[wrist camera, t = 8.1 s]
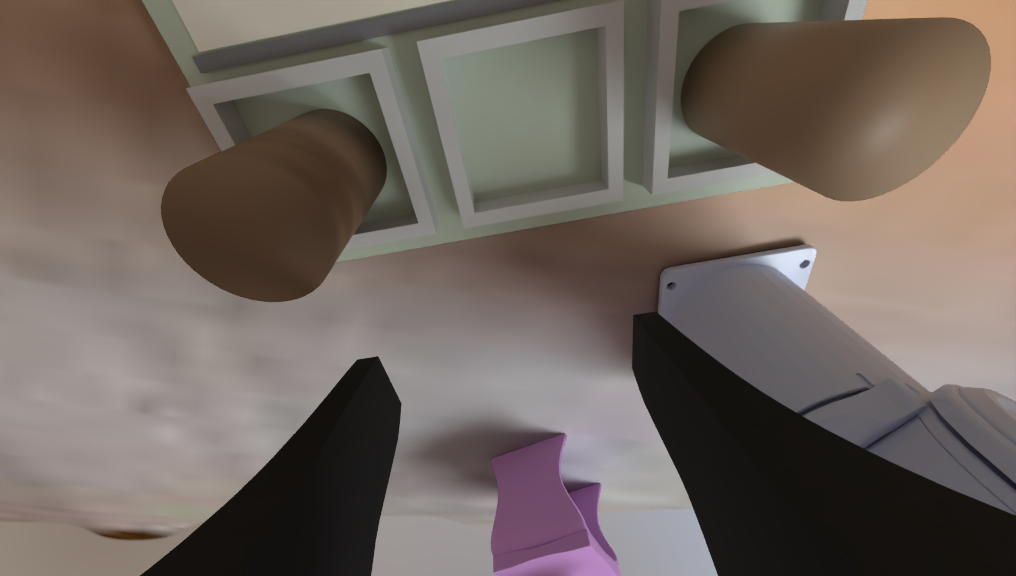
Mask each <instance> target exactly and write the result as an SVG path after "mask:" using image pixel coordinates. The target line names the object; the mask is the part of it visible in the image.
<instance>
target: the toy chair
mask: <svg viewBox="0 0 1016 576" xmlns="http://www.w3.org/2000/svg"><path fill="white" fill-rule="evenodd" d="M566 438H567V436H566V434H565V433H564V434H561V435H558V436H555V437H552V438H549V439H547V440H544V441H541V442H538V443H535V444H532V445H529V446H526V447H524V448H521V449H518V450H515V451H512V452H509V453H506V454H504V455H501V456H498V457H495V458H492V459H491V460H490V461H491V464H492V467H493V469H494V472H495V475H496V480H497V485H498V504H497V510H496V516H495V521H494V526H493V531H492V537H491V550H492V554H493V556H494V557H493V565H494V566H493V568H494V573H495V574H496V575H498V576H621V574H620V570H619V567H618V560H617V558H616V555H615V553H614V552H613V550H612V548H611V547H610V546H609V544H608V543H607V541H606V540H605V538H604V536H603V534H602V532H601V529H600V526H599V522H598V504H599V497H600V492H601V486H602V485H601V484H600V483H598V484H595V485H592V486H588V487H585V488H582V489H579V490H576V491H573V492H569V493H567V491H566V489H565V487H564V485H563V482H562V478H561V475H560V462H561V455H562V451H563V447H564V444H565V441H566Z"/></svg>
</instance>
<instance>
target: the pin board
mask: <svg viewBox="0 0 1016 576" xmlns="http://www.w3.org/2000/svg"><path fill="white" fill-rule="evenodd" d="M142 2H143V3H144V5H145V7H146V9H147V10H148V12H149V14H150V16H151V17H152V19H153V21H154V23H155V25H156V26H157V28H158V30H159V32H160V33H161V35H162V37H163V39H164V40H165V42H166V44H167V46H168V48H169V49H170V51H171V53H172V55H173V56H174V58H175V60H176V62H177V63H178V65H179V67H180V69H181V71H182V72H183V74H184V76H185V78H186V79H187V81H188V83H189V85H190V86H191V87H189V88H185V89H186V90H187V92H188V94H189V96H190V97H191V99H192V101H193V103H194V104H195V106H196V108H197V110H198V111H199V113H200V115H201V117H202V118H203V120H204V122H205V123H206V125H207V127H208V129H209V130H210V132H211V134H212V136H213V137H214V139H215V141H216V143H217V144H218V146H219V148H220V150H221V151H224V150H226V149H228V148H230V147H232V146H234V145H237V144H239V143H241V142H243V141H245V140H248V139H250V138H252V137H254V136H256V135H258V134H261V133H263V132H265V131H267V130H269V129H272V128H274V127H276V126H278V125H280V124H283V123H285V122H287V121H289V120H291V119H293V118H296V117H298V116H300V115H302V114H304V113H307V112H309V111H313V110H318V109H331V110H337V111H340V112H343V113H346V114H348V115H350V116H352V117H354V118H356V119H357V120H359V121H360V122H362V123H363V124H364V125H365V126H366V127H367V128H368V129H369V130H370V131H371V132H372V133H373V134H374V136H375V137H376V138H377V140H378V141H379V143H380V145H381V147H382V149H383V152H384V155H385V158H386V163H387V176H386V181H385V184H384V187H383V189H382V190H381V192H380V194H379V195H378V197H377V198H376V200H375V201H374V203H373V205H372V206H371V208H370V209H369V211H368V212H367V214H366V215H365V217H364V219H363V220H362V222H361V223H360V225H359V226H358V228H357V230H356V231H355V233H354V234H353V236H352V237H351V239H350V240H349V242H348V244H347V245H346V247H345V248H344V250H343V251H342V253H341V254H340V256H339V258H338V259H337V261H336V262H342V261H348V260H353V259H359V258H365V257H370V256H376V255H382V254H387V253H393V252H399V251H404V250H410V249H416V248H421V247H427V246H433V245H439V244H444V243H450V242H456V241H461V240H467V239H473V238H478V237H484V236H490V235H495V234H501V233H507V232H512V231H518V230H524V229H529V228H535V227H541V226H547V225H552V224H558V223H564V222H569V221H575V220H581V219H586V218H592V217H598V216H603V215H609V214H615V213H620V212H626V211H632V210H637V209H643V208H649V207H655V206H660V205H666V204H672V203H677V202H683V201H689V200H694V199H700V198H706V197H711V196H717V195H723V194H728V193H734V192H740V191H746V190H751V189H757V188H763V187H768V186H774V185H780V184H785V183H791V182H796V183H798V184H800V185H803V186H805V187H807V188H809V189H811V190H813V191H815V192H817V193H819V194H821V195H823V196H825V197H828V198H831V199H834V200H839V201H859V200H865V199H870V198H874V197H877V196H880V195H883V194H885V193H887V192H890V191H892V190H894V189H896V188H898V187H900V186H902V185H904V184H906V183H907V182H909V181H910V180H912V179H914V178H915V177H917V176H918V175H919V174H921V173H922V172H924V171H925V170H926V169H928V168H929V167H930V166H931V165H932V164H933V163H935V162H936V161H937V160H938V159H939V158H940V157H941V156H942V155H943V154H944V153H945V152H946V151H947V150H948V149H949V148H950V147H951V146H952V145H953V144H954V143H955V141H956V140H957V139H958V138H959V137H960V135H961V134H962V133H963V131H964V130H965V129H966V127H967V126H968V124H969V123H970V121H971V120H972V118H973V117H974V115H975V113H976V111H977V109H978V107H979V106H980V103H981V101H982V99H983V96H984V94H985V91H986V88H987V85H988V81H989V76H990V70H991V56H990V49H989V46H988V43H987V41H986V38H985V37H984V35H983V34H982V33H981V31H980V30H979V29H978V28H976V27H975V26H974V25H973V24H971V23H968V22H966V21H964V20H960V19H956V18H943V17H942V18H908V19H875V20H862V17H863V13H864V10H865V7H866V3H867V0H142ZM336 262H335V263H336Z"/></svg>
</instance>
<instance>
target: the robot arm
mask: <svg viewBox="0 0 1016 576" xmlns="http://www.w3.org/2000/svg"><path fill="white" fill-rule="evenodd" d="M816 253H817V250H816V249H815V248H814V247H812V246H811V245H799V246H793V247H787V248H781V249H775V250H770V251H764V252H758V253H752V254H746V255H740V256H734V257H728V258H722V259H716V260H710V261H704V262H698V263H692V264H686V265H680V266H674V267H669V268H666V269H665V270H664V271H663V272H662V273H661V276H660V288H659V303H658V313H657V312H651V313H644V314H638V315H633V353H632V369H633V372H634V375H635V378H636V381H637V384H638V387H639V390H640V392H641V395H642V398H643V401H644V403H645V405H646V407H647V409H648V412H649V414H650V416H651V418H652V420H653V422H654V424H655V426H656V428H657V430H658V432H659V434H660V436H661V438H662V440H663V443H664V445H665V447H666V449H667V451H668V453H669V455H670V457H671V459H672V461H673V463H674V465H675V467H676V469H677V471H678V473H679V475H680V477H681V480H682V482H683V484H684V486H685V489H686V491H687V493H688V496H689V498H690V501H691V504H692V506H693V509H694V511H695V514H696V517H697V519H698V522H699V525H700V527H701V530H702V532H703V535H704V538H705V540H706V544H707V546H708V549H709V552H710V555H711V557H712V560H713V562H714V566H715V568H716V571H717V574H718V576H1016V402H1015V401H1013V400H1012V399H1010V398H1008V397H1006V396H1004V395H1001V394H999V393H997V392H995V391H992V390H989V389H985V388H972V387H961V386H958V385H951V384H946V385H943V386H942V387H940V388H939V389H937V390H936V391H934V392H933V393H932V392H930V391H928V390H927V389H926V388H924V387H923V386H922V385H921V384H919V383H918V382H917V381H916V380H915V379H913V378H912V377H911V376H910V375H908V374H907V373H906V372H905V371H903V370H902V369H901V368H900V367H898V366H897V365H896V364H895V363H893V362H892V361H891V360H890V359H889V358H887V357H886V356H885V355H884V354H882V353H881V352H880V351H879V350H877V349H876V348H875V347H874V346H872V345H871V344H870V343H869V342H867V341H866V340H865V339H864V338H863V337H861V336H860V335H859V334H858V333H856V332H855V331H854V330H853V329H851V328H850V327H849V326H848V325H846V324H845V323H844V322H843V321H841V320H840V319H839V318H838V317H836V316H835V315H834V314H833V313H832V312H830V311H829V310H828V309H827V308H825V307H824V306H823V305H822V304H820V303H819V302H818V301H817V300H815V299H814V298H813V297H812V296H810V295H809V294H808V293H807V292H806V291H804V290H805V287H806V284H807V281H808V278H809V275H810V272H811V269H812V266H813V263H814V260H815V257H816ZM802 261H804V262H802ZM801 262H802V263H801ZM800 263H801V264H800ZM671 282H673V284H672V285H670V286H667V285H668V284H669V283H671ZM400 414H401V402H400V400H399V398H398V396H397V394H396V392H395V390H394V388H393V386H392V384H391V382H390V379H389V377H388V375H387V373H386V371H385V369H384V367H383V365H382V363H381V361H380V359H379V357H371V358H365V359H359V360H357V361H356V362H355V363H354V364H353V365H352V366H351V368H350V369H349V370H348V371H347V372H346V374H345V375H344V376H343V377H342V378H341V380H340V381H339V382H338V383H337V384H336V386H335V387H334V388H333V389H332V391H331V392H330V393H329V394H328V395H327V397H326V398H325V399H324V400H323V401H322V403H321V404H320V405H319V406H318V407H317V409H316V410H315V411H314V412H313V413H312V414H311V416H310V417H309V418H308V419H307V420H306V422H305V423H304V424H303V425H302V426H301V427H300V428H299V429H298V430H297V432H296V433H295V434H294V435H293V436H292V437H291V438H290V439H289V440H288V441H287V443H286V444H285V445H284V446H283V447H282V448H281V449H280V450H279V451H278V452H277V454H276V455H275V456H274V457H273V458H272V459H271V460H270V461H269V462H268V463H267V464H266V465H265V466H264V467H263V468H262V469H261V470H260V471H259V472H258V473H257V474H256V475H255V476H254V477H253V478H252V479H251V480H250V481H249V482H248V483H247V484H246V485H245V486H244V487H243V488H242V489H241V490H240V491H239V492H238V493H237V494H236V495H235V496H234V497H232V498H231V499H230V500H229V501H228V502H227V503H226V504H225V505H224V506H223V507H221V508H220V509H219V510H218V511H217V512H216V513H215V514H213V515H212V516H211V517H210V518H209V519H208V520H207V521H205V522H204V523H203V524H202V525H201V526H200V527H199V528H197V529H196V530H195V531H194V532H193V533H192V534H191V535H190V536H189V537H187V538H186V539H185V540H184V541H183V542H181V543H180V544H179V545H178V546H177V547H175V548H174V549H173V550H172V551H170V552H169V553H168V554H167V555H165V556H164V557H163V558H162V559H161V560H160V561H158V562H157V563H156V564H154V565H153V566H152V567H151V568H149V569H148V570H147V571H145V572H144V573H143V574H142V575H140V576H371V572H372V564H373V557H374V549H375V542H376V536H377V531H378V525H379V519H380V516H381V511H382V507H383V503H384V498H385V494H386V490H387V485H388V481H389V477H390V472H391V468H392V464H393V459H394V455H395V450H396V446H397V441H398V434H399V425H400Z"/></svg>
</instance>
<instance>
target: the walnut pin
mask: <svg viewBox="0 0 1016 576" xmlns="http://www.w3.org/2000/svg"><path fill="white" fill-rule="evenodd" d="M386 176H387V163H386V158H385V155H384V152H383V149H382V147H381V145H380V143H379V141H378V140H377V138H376V137H375V136H374V134H373V133H372V132H371V131H370V130H369V129H368V128H367V127H366V126H365V125H364V124H363V123H362V122H360V121H359V120H357V119H356V118H354V117H352V116H350V115H348V114H346V113H343V112H340V111H337V110H331V109H318V110H313V111H309V112H307V113H304V114H302V115H300V116H298V117H296V118H293V119H291V120H289V121H287V122H285V123H283V124H280V125H278V126H276V127H274V128H272V129H269V130H267V131H265V132H263V133H261V134H258V135H256V136H254V137H252V138H250V139H248V140H245V141H243V142H241V143H239V144H237V145H234V146H232V147H230V148H228V149H226V150H224V151H221V152H219V153H217V154H215V155H213V156H210V157H208V158H206V159H204V160H202V161H199V162H197V163H195V164H193V165H191V166H189V167H187V168H185V169H183V170H181V171H180V172H179V173H177V174H176V175H175V176H174V177H173V178H172V179H171V181H170V182H169V183H168V185H167V187H166V189H165V191H164V194H163V197H162V204H161V214H162V220H163V225H164V228H165V230H166V233H167V236H168V238H169V239H170V241H171V243H172V245H173V246H174V248H175V249H176V251H177V252H178V254H179V255H180V256H181V257H182V258H183V260H184V261H185V262H186V263H187V264H188V265H189V266H190V267H191V268H192V269H193V270H194V271H196V272H197V273H198V274H199V275H201V276H202V277H203V278H205V279H206V280H208V281H209V282H211V283H212V284H214V285H216V286H217V287H219V288H221V289H223V290H225V291H228V292H230V293H232V294H235V295H238V296H240V297H244V298H248V299H251V300H257V301H264V302H283V301H290V300H294V299H298V298H300V297H303V296H306V295H307V294H309V293H311V292H312V291H314V290H315V289H316V288H317V287H319V286H320V284H321V283H322V282H323V281H324V279H325V278H326V276H327V275H328V273H329V272H330V270H331V269H332V267H333V265H334V264H335V262H336V261H337V259H338V258H339V256H340V254H341V253H342V251H343V250H344V248H345V247H346V245H347V244H348V242H349V240H350V239H351V237H352V236H353V234H354V233H355V231H356V230H357V228H358V226H359V225H360V223H361V222H362V220H363V219H364V217H365V215H366V214H367V212H368V211H369V209H370V208H371V206H372V205H373V203H374V201H375V200H376V198H377V197H378V195H379V194H380V192H381V190H382V189H383V187H384V184H385V181H386Z"/></svg>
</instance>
